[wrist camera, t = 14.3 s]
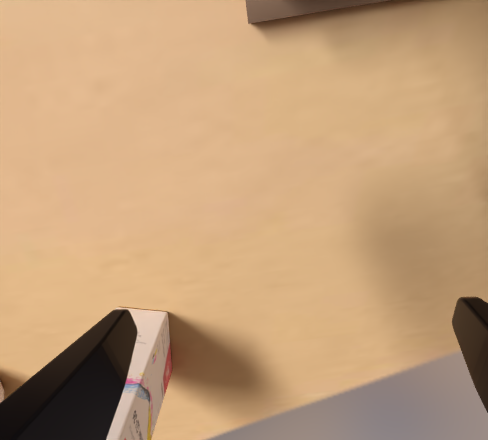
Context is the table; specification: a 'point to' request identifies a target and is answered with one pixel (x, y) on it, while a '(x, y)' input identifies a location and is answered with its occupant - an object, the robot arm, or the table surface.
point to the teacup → (1, 393)
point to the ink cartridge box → (144, 378)
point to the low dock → (295, 7)
